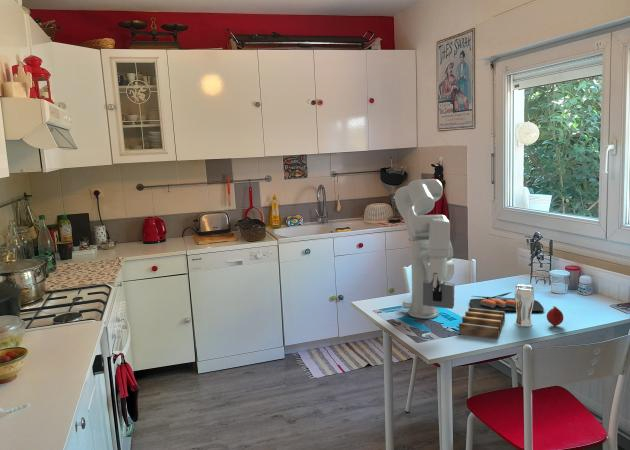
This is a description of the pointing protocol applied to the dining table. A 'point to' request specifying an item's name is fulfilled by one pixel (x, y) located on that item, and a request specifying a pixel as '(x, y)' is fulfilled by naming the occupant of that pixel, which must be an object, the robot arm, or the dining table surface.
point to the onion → (555, 316)
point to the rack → (482, 323)
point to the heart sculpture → (449, 271)
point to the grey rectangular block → (446, 295)
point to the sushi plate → (500, 304)
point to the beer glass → (524, 305)
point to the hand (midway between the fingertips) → (438, 298)
